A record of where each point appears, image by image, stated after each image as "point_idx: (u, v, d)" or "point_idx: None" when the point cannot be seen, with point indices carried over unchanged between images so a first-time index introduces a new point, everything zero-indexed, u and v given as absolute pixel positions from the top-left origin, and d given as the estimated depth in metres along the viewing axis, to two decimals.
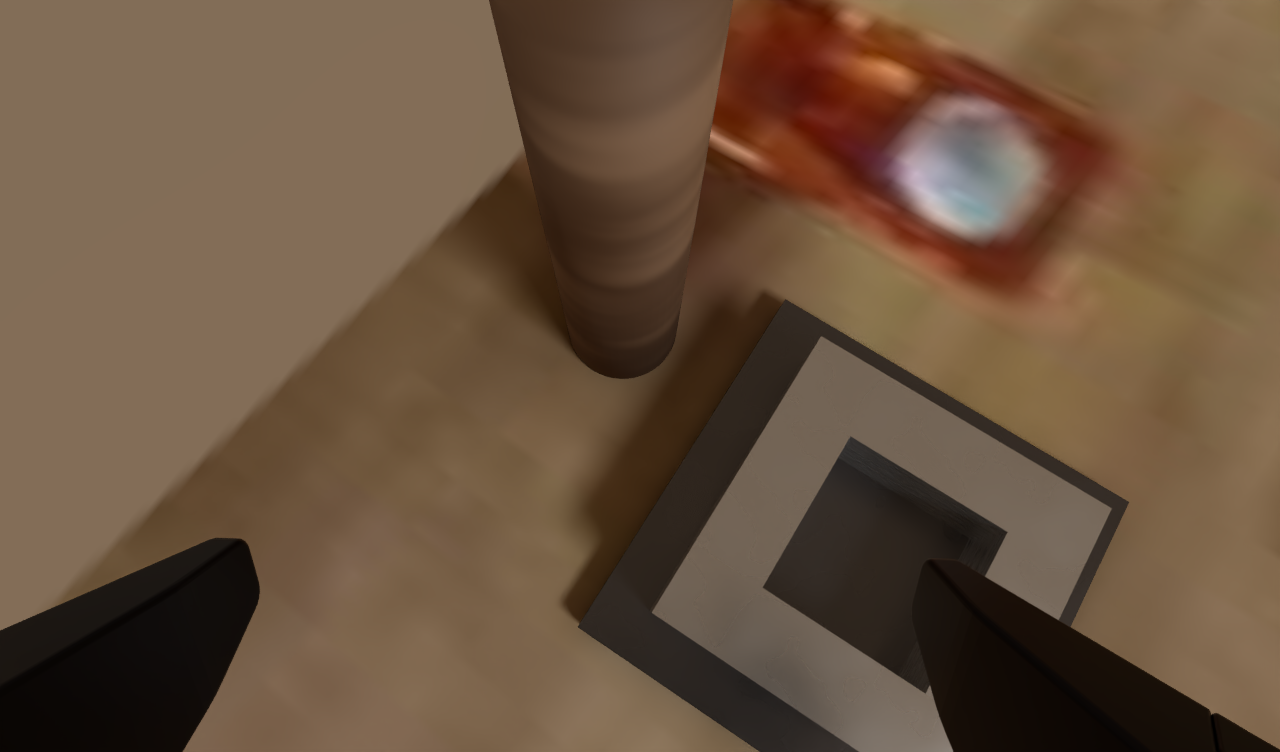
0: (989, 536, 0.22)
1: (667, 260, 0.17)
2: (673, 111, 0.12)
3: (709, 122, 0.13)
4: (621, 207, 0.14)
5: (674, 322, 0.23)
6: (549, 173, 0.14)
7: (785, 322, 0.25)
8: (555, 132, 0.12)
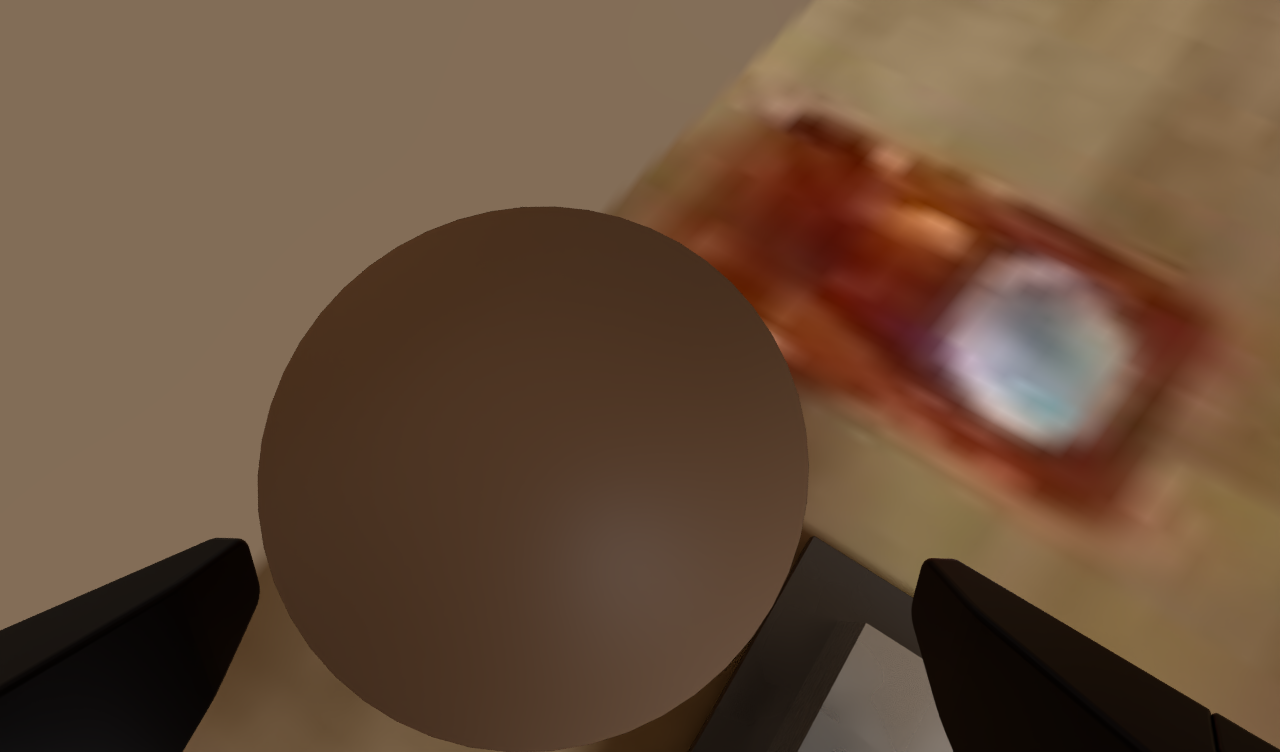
0: None
1: None
2: None
3: None
4: None
5: None
6: None
7: (814, 567, 0.20)
8: None
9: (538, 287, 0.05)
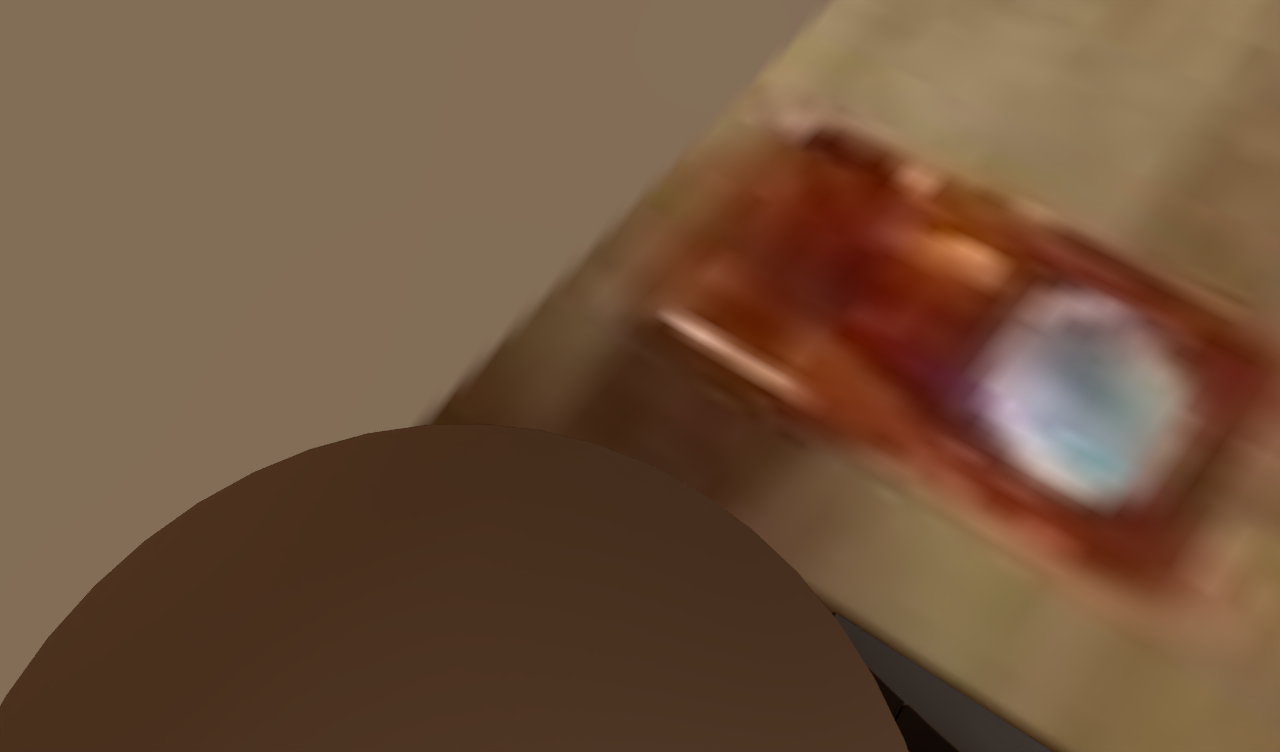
0: None
1: None
2: None
3: None
4: None
5: None
6: None
7: None
8: None
9: (448, 583, 0.03)
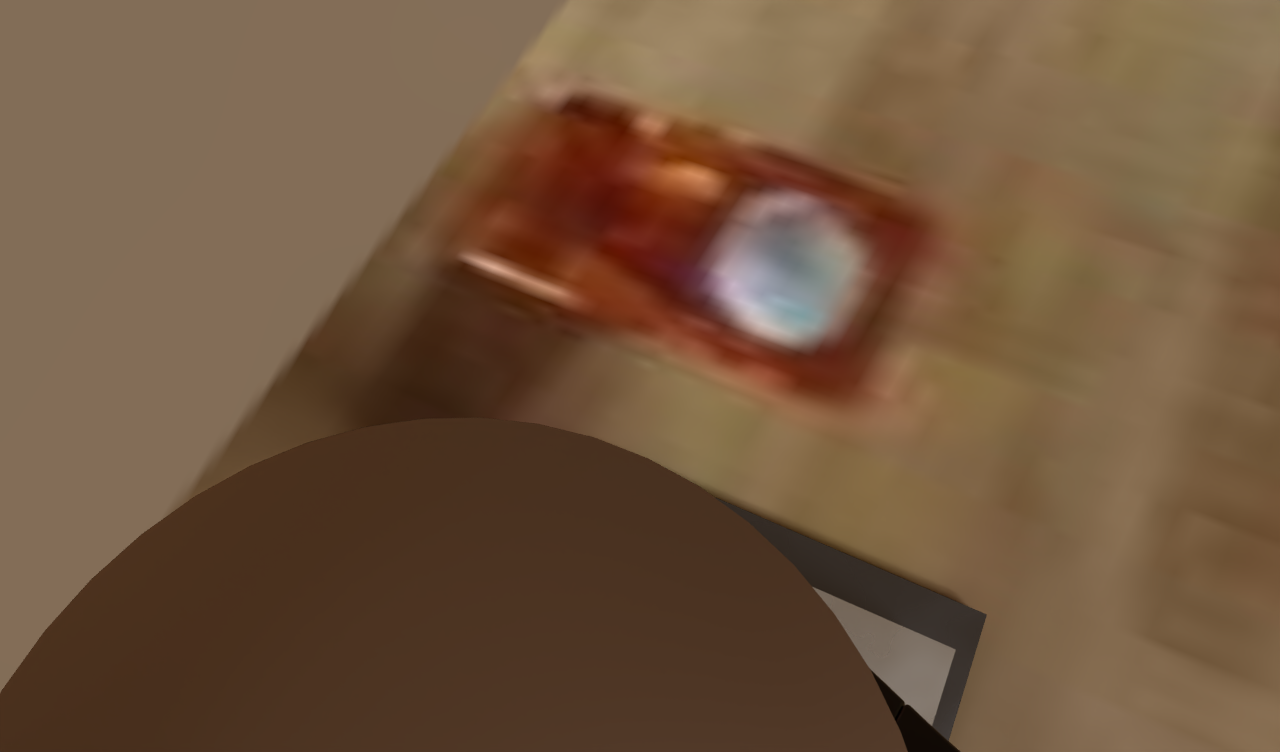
0: None
1: None
2: None
3: None
4: None
5: None
6: None
7: None
8: None
9: (442, 575, 0.03)
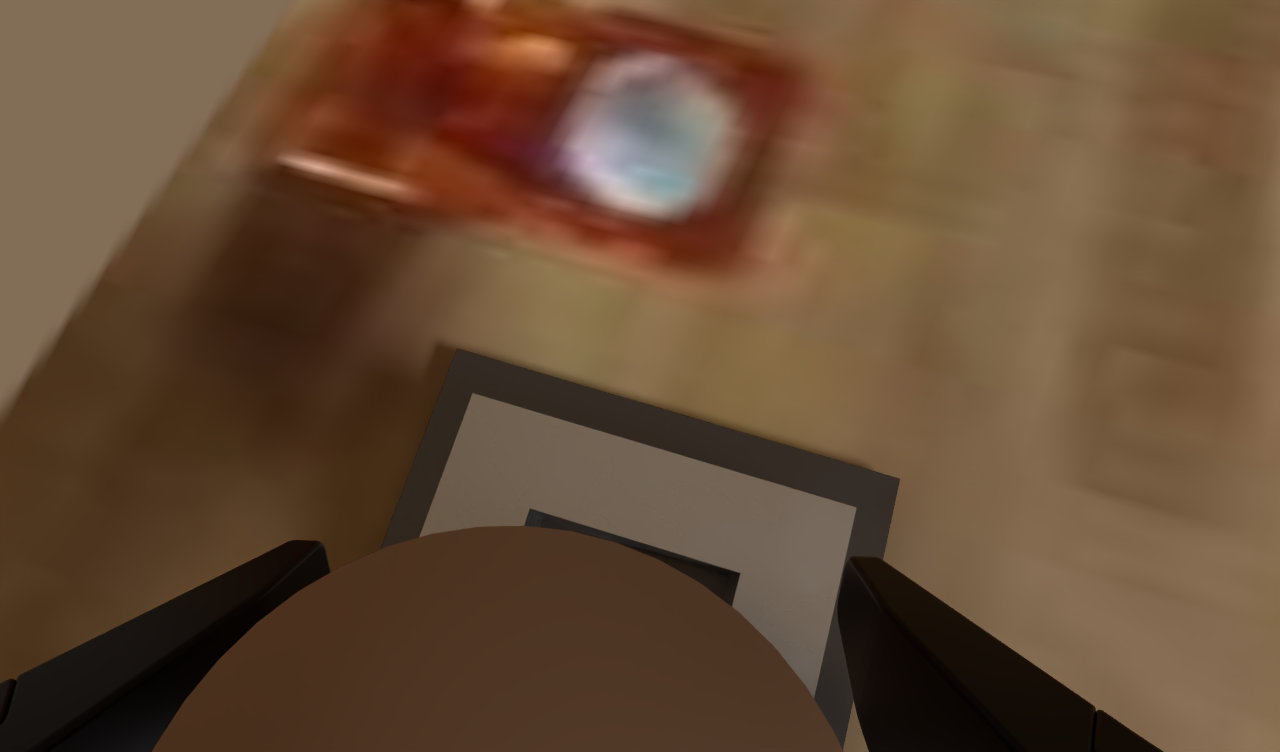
0: (733, 577, 0.18)
1: None
2: None
3: None
4: None
5: None
6: None
7: (462, 376, 0.21)
8: None
9: (498, 656, 0.04)
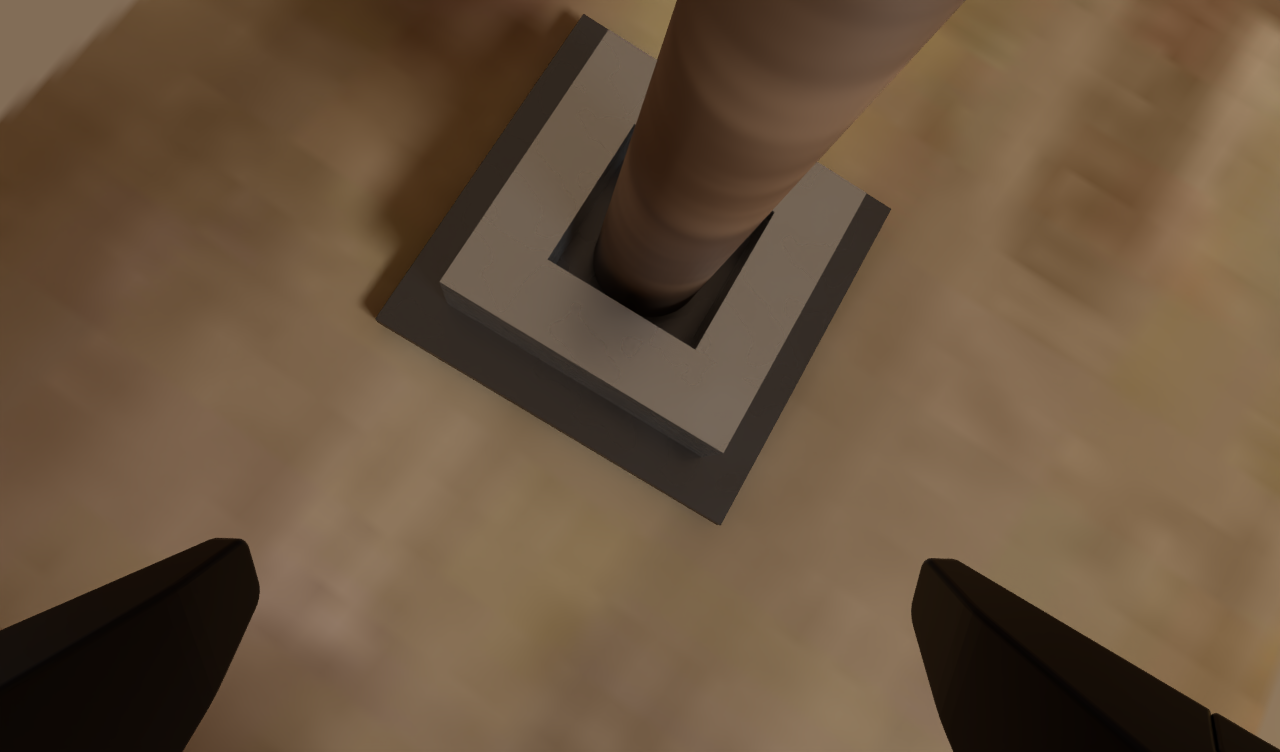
0: (762, 226, 0.24)
1: (751, 222, 0.16)
2: (860, 89, 0.11)
3: None
4: (747, 164, 0.13)
5: None
6: (687, 107, 0.13)
7: (583, 35, 0.26)
8: (725, 72, 0.11)
9: None
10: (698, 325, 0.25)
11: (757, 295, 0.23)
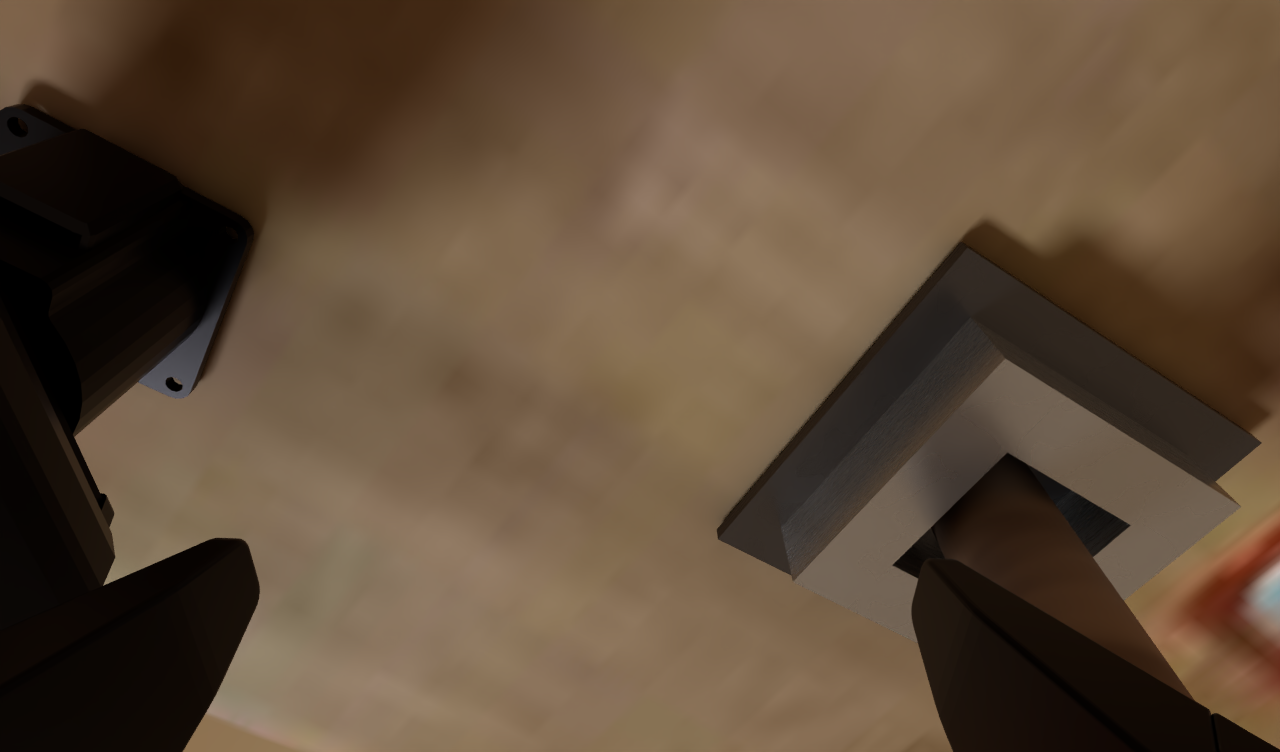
0: None
1: None
2: None
3: None
4: None
5: None
6: None
7: (1236, 442, 0.24)
8: None
9: None
10: None
11: None
